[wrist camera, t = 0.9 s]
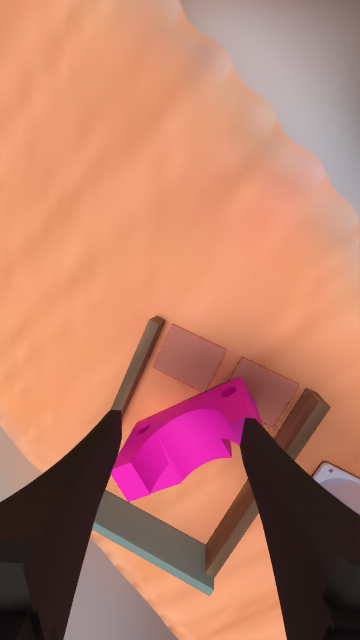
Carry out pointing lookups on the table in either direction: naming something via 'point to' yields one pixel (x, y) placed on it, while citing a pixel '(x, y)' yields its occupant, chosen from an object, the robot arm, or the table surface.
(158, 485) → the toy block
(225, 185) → the table surface
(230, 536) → the lane rails
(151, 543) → the end stop
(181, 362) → the trap squares
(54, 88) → the table surface
